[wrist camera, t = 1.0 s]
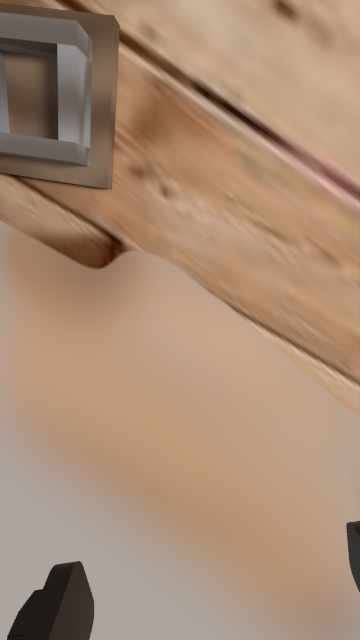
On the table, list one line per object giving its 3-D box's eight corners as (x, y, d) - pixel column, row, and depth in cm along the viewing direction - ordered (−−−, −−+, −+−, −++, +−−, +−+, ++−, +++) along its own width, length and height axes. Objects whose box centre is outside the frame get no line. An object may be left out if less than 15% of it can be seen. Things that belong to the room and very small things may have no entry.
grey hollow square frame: (-22, 10, 27) (-67, -25, 23) (119, 25, 26) (99, -9, 22) (-8, 171, 32) (-43, 166, 28) (111, 189, 31) (94, 187, 27)
